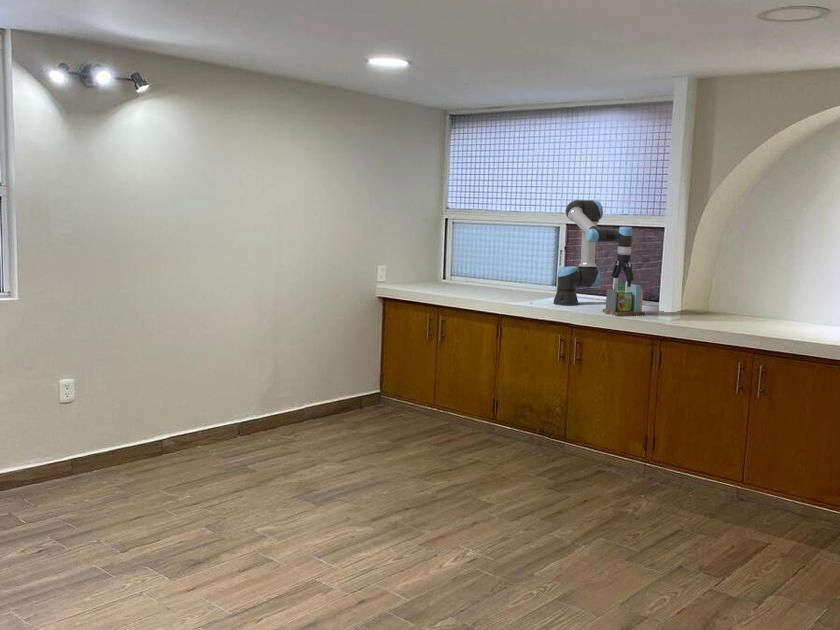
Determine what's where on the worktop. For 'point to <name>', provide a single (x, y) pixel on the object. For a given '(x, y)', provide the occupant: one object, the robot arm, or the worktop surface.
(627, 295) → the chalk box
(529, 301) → the worktop surface
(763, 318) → the worktop surface
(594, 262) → the robot arm
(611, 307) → the bookend
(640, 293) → the books
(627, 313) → the shelf
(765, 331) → the worktop surface
